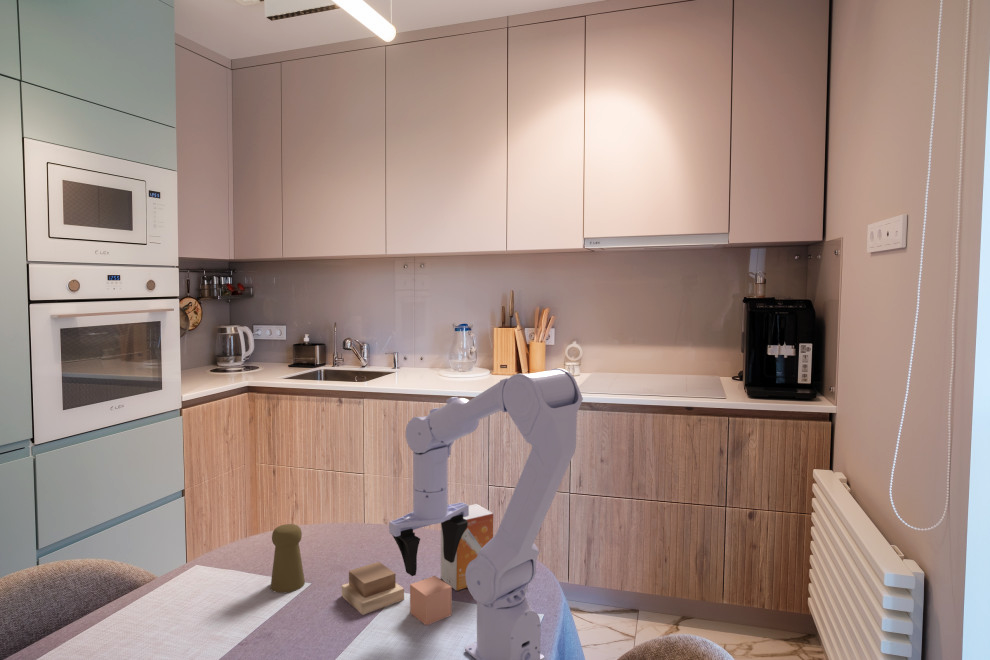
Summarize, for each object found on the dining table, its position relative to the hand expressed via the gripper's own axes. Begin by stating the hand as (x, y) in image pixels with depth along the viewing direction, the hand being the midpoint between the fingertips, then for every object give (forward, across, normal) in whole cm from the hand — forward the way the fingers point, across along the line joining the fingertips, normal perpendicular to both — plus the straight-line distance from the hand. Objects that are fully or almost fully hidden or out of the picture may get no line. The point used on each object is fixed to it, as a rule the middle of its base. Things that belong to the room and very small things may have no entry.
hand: (430, 566), depth 100 cm
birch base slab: (+9, +5, -11) cm, 15 cm away
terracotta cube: (+8, 0, 0) cm, 8 cm away
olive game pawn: (+8, +15, -25) cm, 30 cm away
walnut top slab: (+6, +5, -11) cm, 14 cm away
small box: (+8, -12, -6) cm, 16 cm away
